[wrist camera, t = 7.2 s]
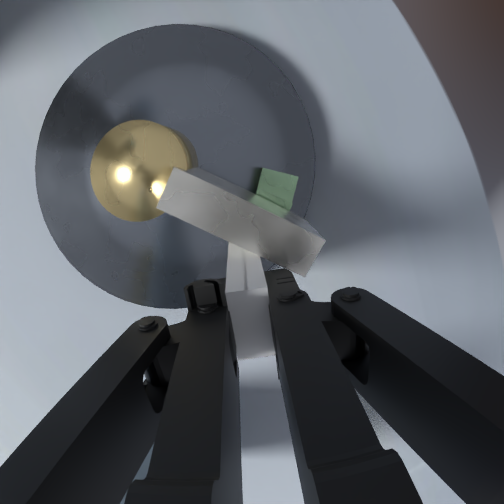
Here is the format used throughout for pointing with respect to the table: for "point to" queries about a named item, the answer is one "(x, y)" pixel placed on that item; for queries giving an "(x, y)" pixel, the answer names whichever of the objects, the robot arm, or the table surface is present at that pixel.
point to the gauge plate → (190, 125)
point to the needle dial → (193, 195)
